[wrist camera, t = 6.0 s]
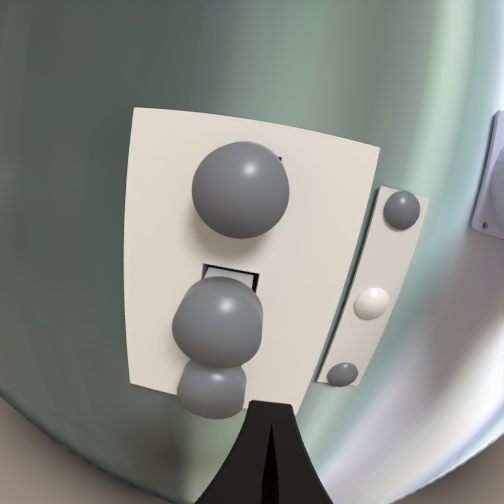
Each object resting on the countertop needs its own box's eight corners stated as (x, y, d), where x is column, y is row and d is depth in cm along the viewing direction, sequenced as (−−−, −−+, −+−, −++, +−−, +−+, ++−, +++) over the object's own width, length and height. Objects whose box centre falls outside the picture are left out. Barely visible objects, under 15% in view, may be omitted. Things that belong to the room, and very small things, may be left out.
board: (368, 145, 16) (380, 147, 14) (295, 395, 23) (296, 415, 21) (148, 108, 16) (134, 107, 14) (139, 365, 23) (130, 382, 21)
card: (428, 196, 17) (431, 198, 16) (356, 383, 22) (358, 388, 22) (379, 183, 17) (382, 185, 16) (316, 379, 22) (317, 384, 22)
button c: (254, 338, 21) (249, 381, 17) (244, 380, 22) (239, 423, 18) (193, 326, 21) (177, 367, 17) (189, 370, 22) (176, 411, 18)
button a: (292, 146, 16) (298, 152, 12) (278, 219, 18) (279, 246, 14) (216, 133, 16) (198, 136, 12) (205, 206, 18) (186, 230, 14)
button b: (271, 264, 17) (269, 305, 13) (258, 326, 18) (253, 375, 15) (195, 250, 17) (173, 287, 13) (189, 314, 18) (170, 358, 15)
